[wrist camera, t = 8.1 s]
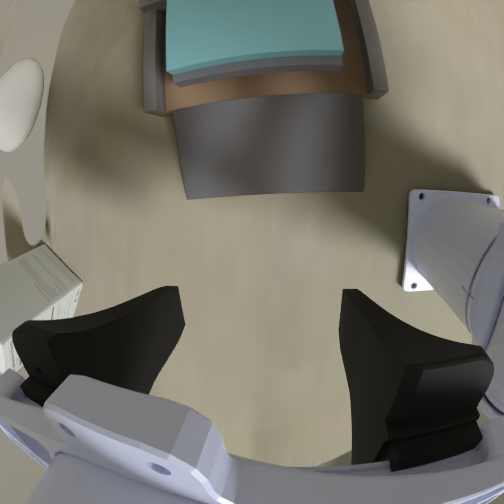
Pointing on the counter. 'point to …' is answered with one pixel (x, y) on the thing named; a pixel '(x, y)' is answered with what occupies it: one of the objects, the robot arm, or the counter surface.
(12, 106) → the flower in vase
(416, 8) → the counter surface
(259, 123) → the grey wooden tray
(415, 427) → the robot arm
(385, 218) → the counter surface
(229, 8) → the teal slab
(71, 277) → the supplement box
